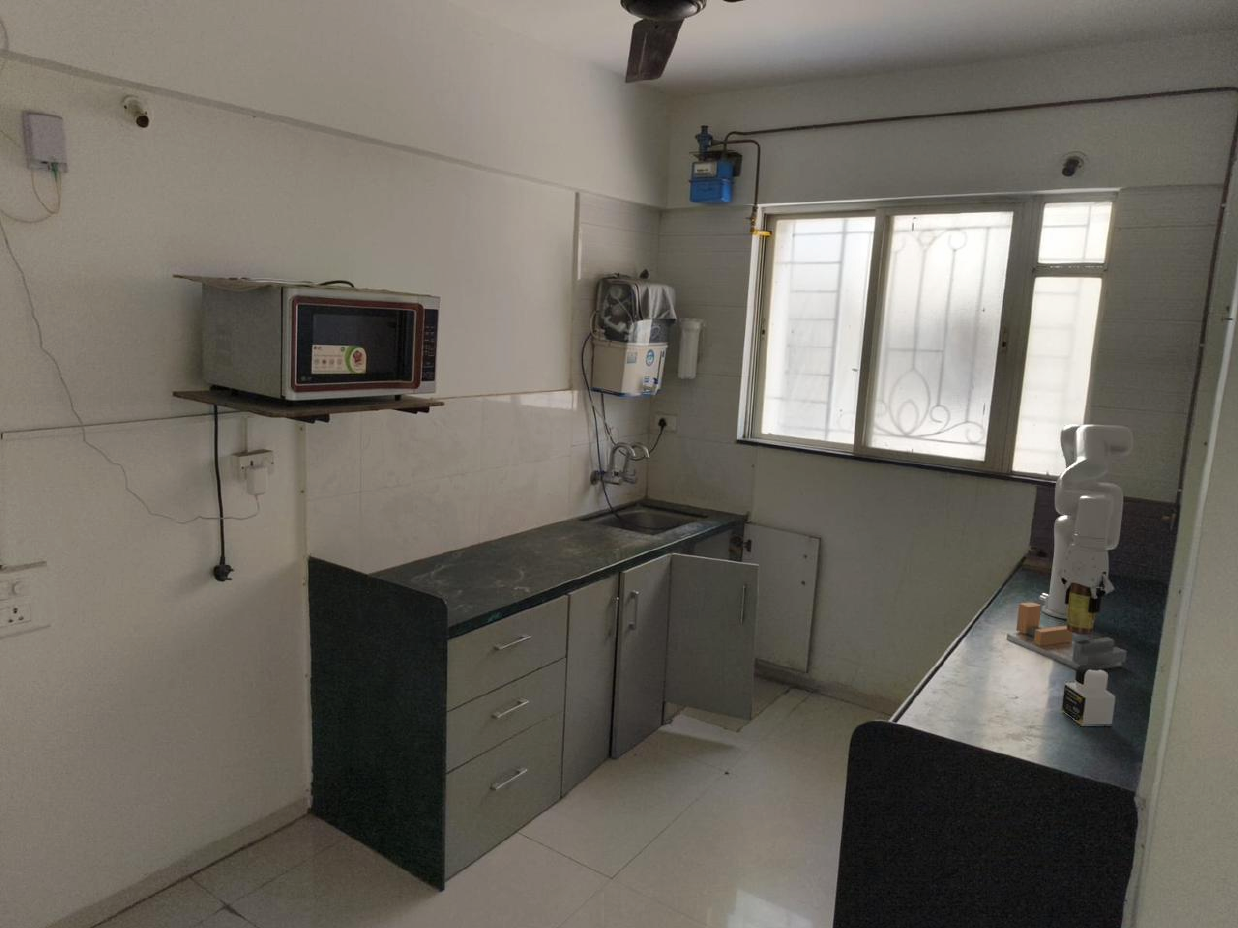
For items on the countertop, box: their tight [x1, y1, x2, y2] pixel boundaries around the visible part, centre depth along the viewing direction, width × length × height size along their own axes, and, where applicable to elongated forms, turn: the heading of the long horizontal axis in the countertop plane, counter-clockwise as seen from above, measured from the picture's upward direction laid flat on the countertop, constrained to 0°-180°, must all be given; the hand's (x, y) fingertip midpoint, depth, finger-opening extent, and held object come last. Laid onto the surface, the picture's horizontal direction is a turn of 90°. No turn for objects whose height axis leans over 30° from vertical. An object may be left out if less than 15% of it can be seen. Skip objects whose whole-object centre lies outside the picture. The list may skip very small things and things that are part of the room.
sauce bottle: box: [1066, 559, 1097, 636], centre depth 210 cm, size 6×6×20 cm
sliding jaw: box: [1015, 601, 1074, 646], centre depth 222 cm, size 11×12×8 cm
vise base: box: [1006, 631, 1128, 670], centre depth 215 cm, size 25×14×6 cm, turn 21°
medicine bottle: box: [1061, 665, 1116, 725], centre depth 175 cm, size 7×7×12 cm
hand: (1081, 607), depth 210 cm, fingers closed on sauce bottle, 6 cm apart
